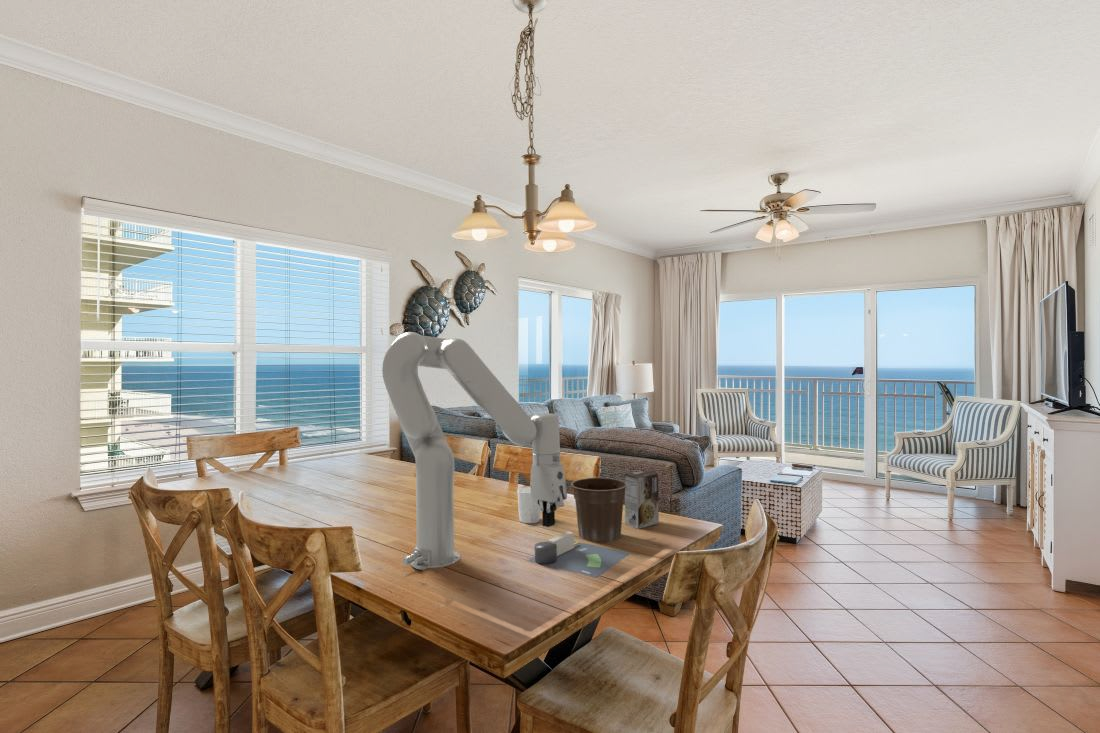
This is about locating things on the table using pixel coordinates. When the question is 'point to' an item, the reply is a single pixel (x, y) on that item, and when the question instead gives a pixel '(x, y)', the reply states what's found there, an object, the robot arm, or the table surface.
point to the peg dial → (554, 548)
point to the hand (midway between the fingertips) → (548, 525)
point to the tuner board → (587, 559)
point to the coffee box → (641, 499)
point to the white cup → (527, 506)
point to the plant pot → (599, 508)
